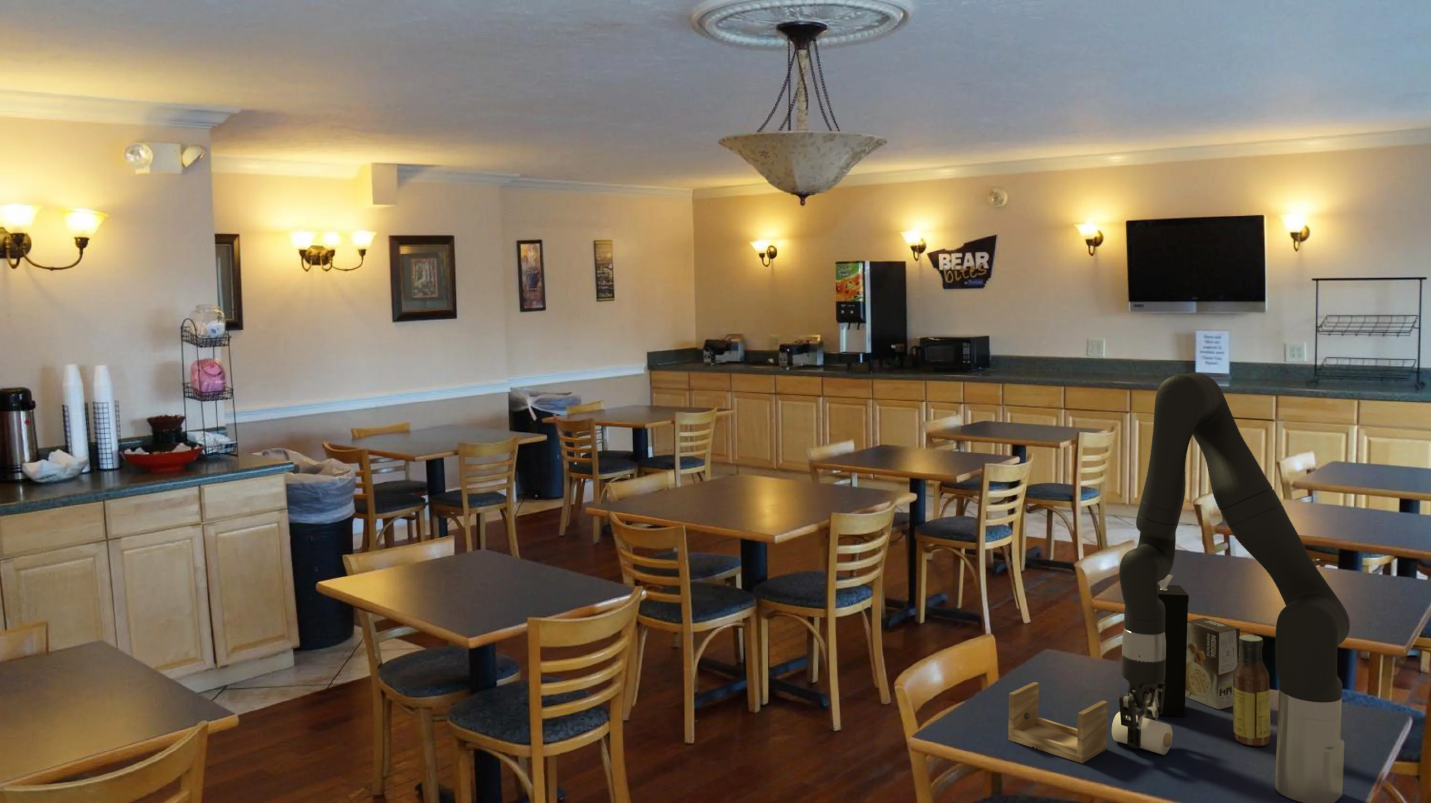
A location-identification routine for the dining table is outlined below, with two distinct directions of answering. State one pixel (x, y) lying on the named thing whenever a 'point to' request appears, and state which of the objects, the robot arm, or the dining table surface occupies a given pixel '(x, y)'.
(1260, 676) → the sauce bottle
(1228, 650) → the coffee box
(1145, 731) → the cylinder
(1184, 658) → the tissue box
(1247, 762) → the dining table surface
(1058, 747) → the holder
